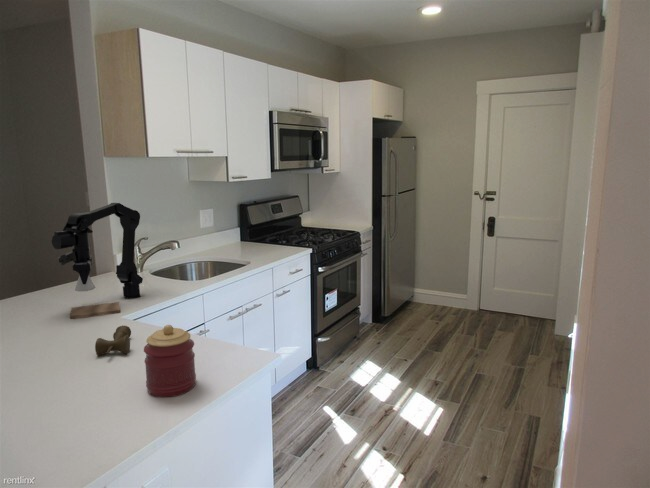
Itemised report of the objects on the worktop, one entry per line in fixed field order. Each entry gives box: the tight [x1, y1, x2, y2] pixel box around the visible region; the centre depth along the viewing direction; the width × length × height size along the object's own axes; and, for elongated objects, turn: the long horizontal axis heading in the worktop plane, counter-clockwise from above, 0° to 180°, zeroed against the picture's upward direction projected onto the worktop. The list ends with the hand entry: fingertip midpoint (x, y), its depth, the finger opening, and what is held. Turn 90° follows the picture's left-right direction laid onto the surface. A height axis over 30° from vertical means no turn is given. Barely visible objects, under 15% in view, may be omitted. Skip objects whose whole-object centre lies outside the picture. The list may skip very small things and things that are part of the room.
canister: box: [143, 324, 197, 398], centre depth 126 cm, size 13×13×18 cm
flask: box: [74, 274, 96, 292], centre depth 190 cm, size 7×7×10 cm
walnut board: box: [69, 301, 121, 320], centre depth 191 cm, size 18×12×1 cm, turn 116°
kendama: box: [94, 325, 132, 357], centre depth 153 cm, size 6×10×20 cm
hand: (84, 282), depth 190 cm, fingers closed on flask, 5 cm apart
